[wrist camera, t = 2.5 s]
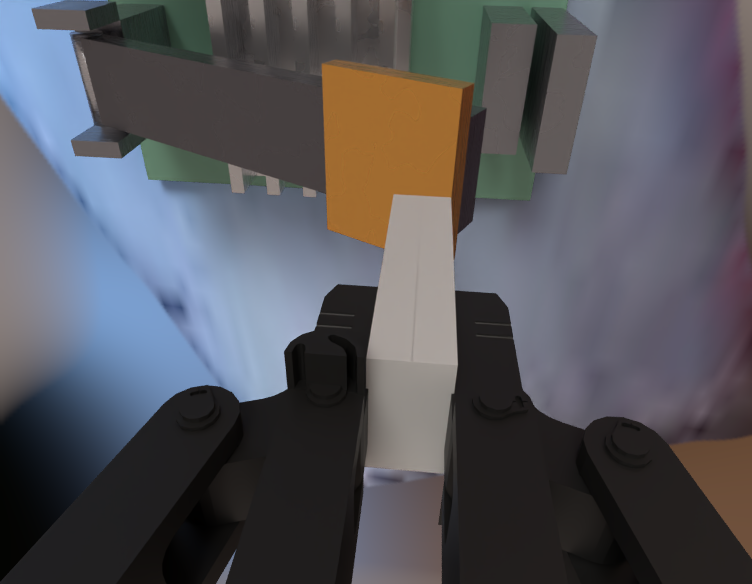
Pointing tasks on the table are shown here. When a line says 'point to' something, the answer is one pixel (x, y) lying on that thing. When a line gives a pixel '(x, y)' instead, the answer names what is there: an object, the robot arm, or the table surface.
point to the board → (428, 56)
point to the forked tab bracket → (112, 21)
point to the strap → (298, 124)
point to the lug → (532, 82)
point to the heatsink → (309, 42)
